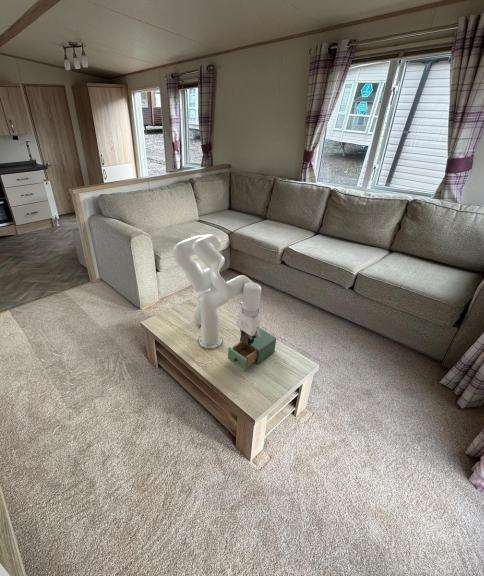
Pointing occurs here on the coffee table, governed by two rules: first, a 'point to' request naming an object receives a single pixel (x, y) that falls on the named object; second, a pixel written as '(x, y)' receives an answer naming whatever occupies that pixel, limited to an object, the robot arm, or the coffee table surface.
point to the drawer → (242, 355)
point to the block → (245, 338)
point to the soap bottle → (197, 310)
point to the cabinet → (263, 345)
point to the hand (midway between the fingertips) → (246, 340)
